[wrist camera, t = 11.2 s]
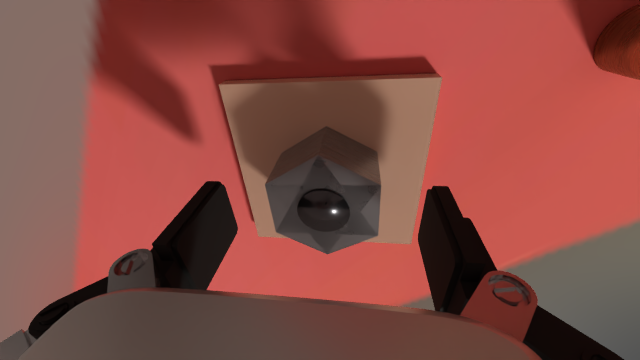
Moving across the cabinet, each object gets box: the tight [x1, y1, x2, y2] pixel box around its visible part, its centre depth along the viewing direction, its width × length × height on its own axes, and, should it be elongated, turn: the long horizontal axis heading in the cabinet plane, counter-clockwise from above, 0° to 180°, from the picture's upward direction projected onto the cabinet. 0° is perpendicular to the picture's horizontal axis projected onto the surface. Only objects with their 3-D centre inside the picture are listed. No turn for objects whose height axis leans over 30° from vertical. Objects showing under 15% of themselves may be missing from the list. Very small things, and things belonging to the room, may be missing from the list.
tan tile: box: [219, 73, 442, 244], centre depth 15 cm, size 10×10×1 cm
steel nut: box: [265, 126, 381, 254], centre depth 13 cm, size 6×5×3 cm
